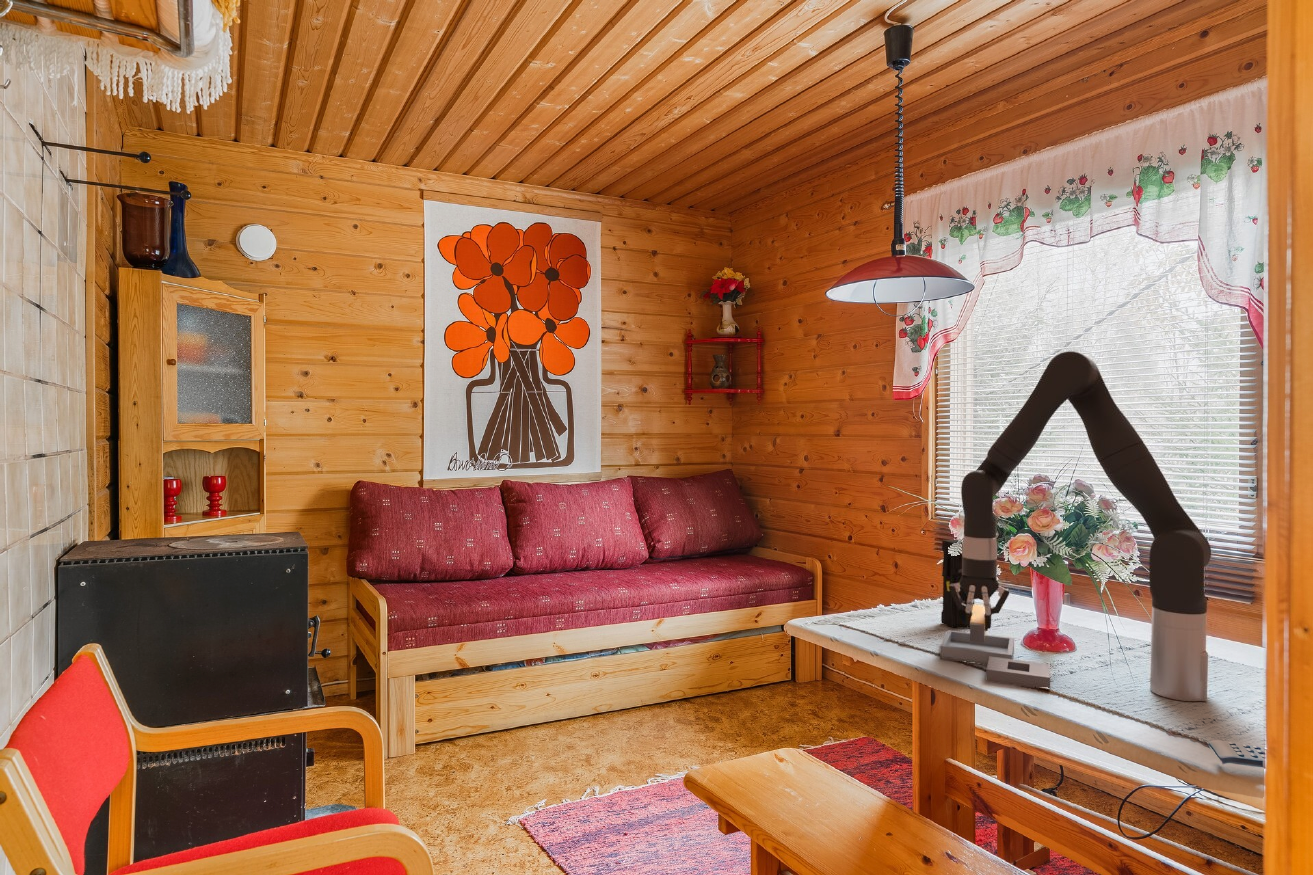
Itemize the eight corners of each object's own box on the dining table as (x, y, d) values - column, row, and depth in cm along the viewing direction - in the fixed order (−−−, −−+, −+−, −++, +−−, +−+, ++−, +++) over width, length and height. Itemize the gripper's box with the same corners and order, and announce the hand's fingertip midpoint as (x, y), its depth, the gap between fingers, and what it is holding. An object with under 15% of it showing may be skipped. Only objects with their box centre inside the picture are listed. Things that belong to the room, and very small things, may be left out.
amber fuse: (986, 605, 188) (984, 625, 181) (986, 622, 190) (984, 642, 182) (973, 604, 190) (969, 624, 182) (973, 620, 191) (970, 641, 184)
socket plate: (1049, 675, 171) (1049, 663, 171) (1049, 689, 162) (1050, 677, 162) (989, 667, 176) (989, 656, 176) (986, 680, 167) (986, 669, 167)
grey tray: (1014, 650, 189) (1014, 637, 189) (1011, 668, 176) (1011, 654, 176) (947, 642, 196) (947, 630, 196) (940, 658, 182) (940, 646, 182)
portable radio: (950, 629, 207) (952, 534, 207) (936, 623, 213) (938, 530, 212) (976, 627, 209) (978, 533, 209) (962, 621, 215) (963, 529, 215)
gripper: (1013, 555, 185) (1011, 629, 186) (949, 550, 192) (948, 621, 192) (1011, 560, 179) (1010, 637, 179) (945, 555, 185) (944, 629, 185)
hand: (978, 628), depth 186 cm, fingers closed on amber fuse, 2 cm apart
